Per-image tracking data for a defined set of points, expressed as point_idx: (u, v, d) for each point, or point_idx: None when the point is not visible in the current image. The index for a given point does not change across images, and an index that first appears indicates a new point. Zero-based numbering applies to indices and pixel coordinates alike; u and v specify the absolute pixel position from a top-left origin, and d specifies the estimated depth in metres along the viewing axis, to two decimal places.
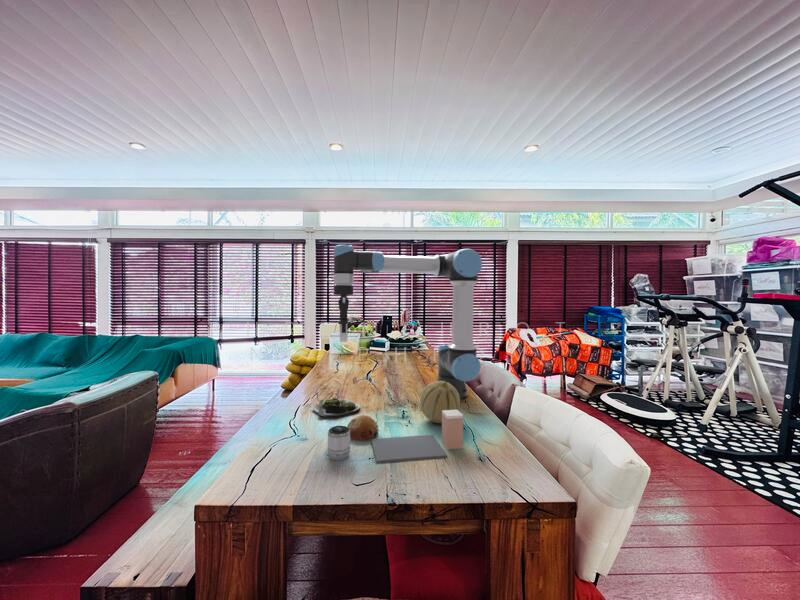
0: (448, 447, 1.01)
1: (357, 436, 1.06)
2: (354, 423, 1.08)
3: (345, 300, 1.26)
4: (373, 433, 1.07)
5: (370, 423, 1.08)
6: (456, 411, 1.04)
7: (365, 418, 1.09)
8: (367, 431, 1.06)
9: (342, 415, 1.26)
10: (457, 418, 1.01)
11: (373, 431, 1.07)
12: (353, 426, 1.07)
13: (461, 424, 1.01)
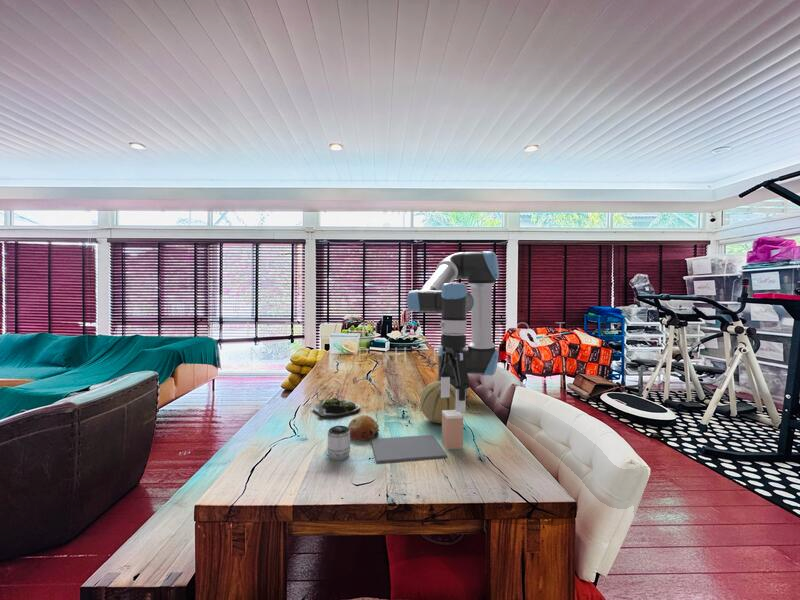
0: (448, 447, 1.01)
1: (358, 436, 1.06)
2: (354, 423, 1.08)
3: (463, 357, 0.96)
4: (374, 433, 1.07)
5: (371, 423, 1.08)
6: None
7: (366, 418, 1.09)
8: (367, 431, 1.06)
9: (342, 415, 1.26)
10: (457, 418, 1.01)
11: (374, 431, 1.07)
12: (354, 426, 1.07)
13: (461, 424, 1.01)
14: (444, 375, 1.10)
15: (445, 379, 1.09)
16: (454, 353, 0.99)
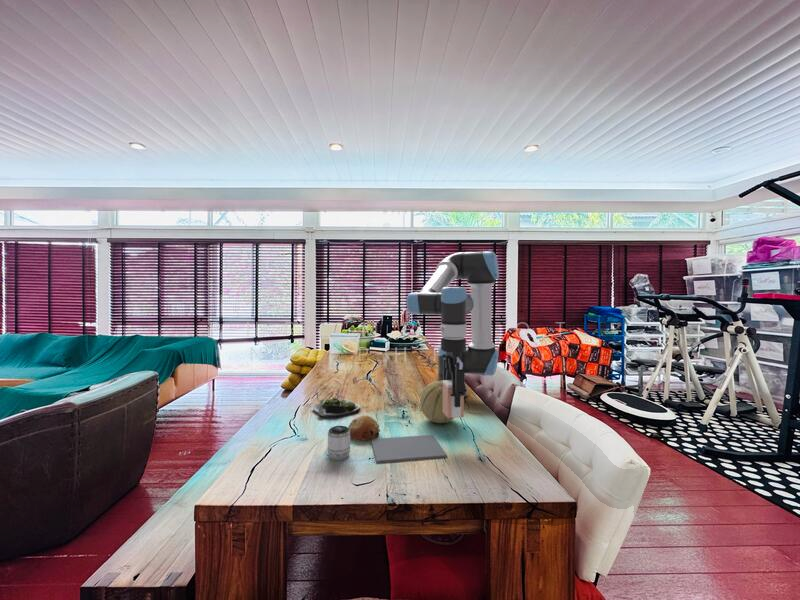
0: (449, 415, 1.01)
1: (359, 436, 1.05)
2: (355, 423, 1.08)
3: (462, 367, 0.97)
4: (374, 433, 1.07)
5: (371, 423, 1.08)
6: None
7: (366, 418, 1.09)
8: (368, 431, 1.06)
9: (342, 415, 1.26)
10: None
11: (374, 431, 1.07)
12: (355, 426, 1.07)
13: None
14: None
15: None
16: (454, 358, 0.99)
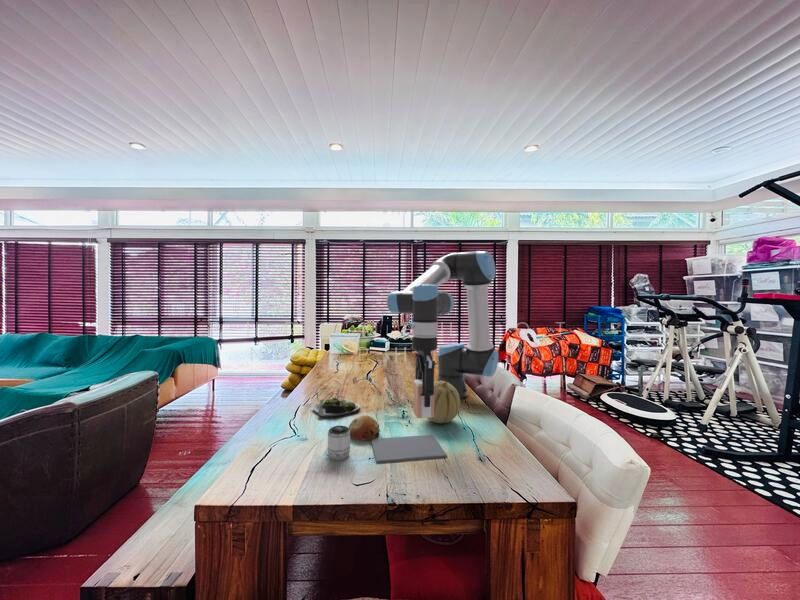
0: (419, 416, 0.99)
1: (359, 436, 1.06)
2: (355, 423, 1.08)
3: (432, 365, 0.95)
4: (375, 433, 1.07)
5: (372, 423, 1.08)
6: None
7: (367, 418, 1.09)
8: (368, 431, 1.06)
9: (342, 415, 1.26)
10: None
11: (375, 431, 1.07)
12: (355, 426, 1.07)
13: None
14: None
15: None
16: (424, 357, 0.97)
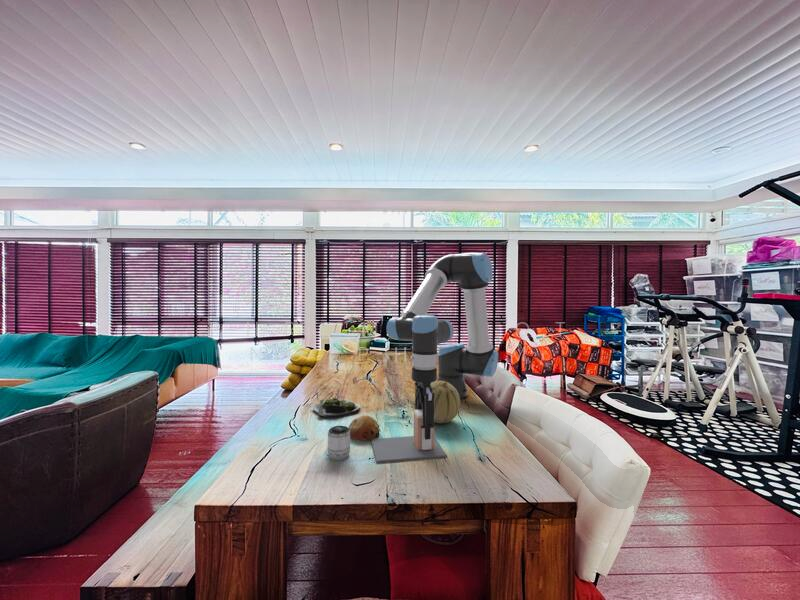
0: (419, 447, 0.99)
1: (359, 436, 1.06)
2: (355, 423, 1.08)
3: (432, 398, 0.95)
4: (375, 433, 1.07)
5: (372, 423, 1.08)
6: None
7: (367, 418, 1.09)
8: (368, 431, 1.06)
9: (341, 415, 1.26)
10: None
11: (375, 431, 1.07)
12: (355, 426, 1.07)
13: None
14: None
15: None
16: (424, 389, 0.97)
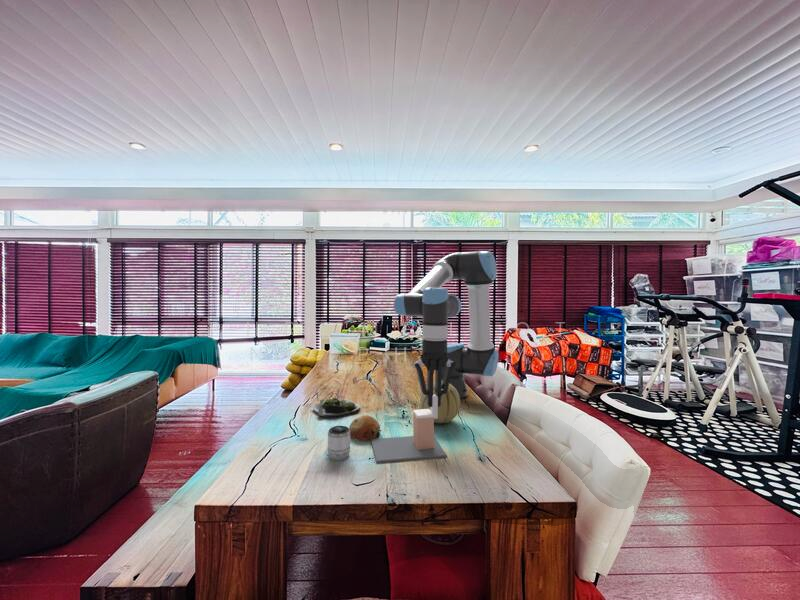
0: (419, 447, 0.99)
1: (360, 436, 1.06)
2: (356, 423, 1.08)
3: (415, 367, 1.00)
4: (375, 433, 1.07)
5: (372, 423, 1.08)
6: (427, 410, 1.03)
7: (367, 418, 1.09)
8: (369, 431, 1.06)
9: (341, 415, 1.26)
10: (427, 418, 0.99)
11: (375, 431, 1.07)
12: (356, 426, 1.07)
13: (432, 423, 1.00)
14: (436, 393, 1.02)
15: None
16: None
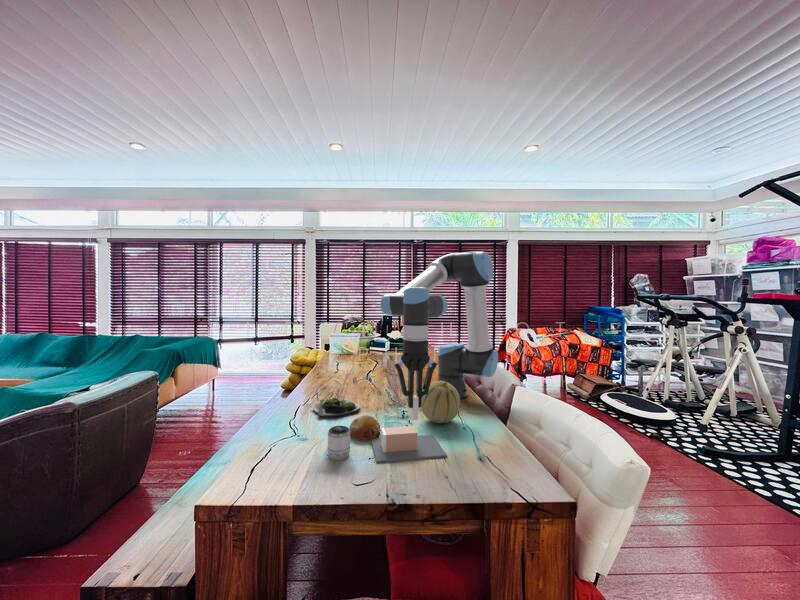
0: (415, 448, 0.99)
1: (360, 436, 1.06)
2: (356, 423, 1.08)
3: (396, 368, 0.99)
4: (375, 433, 1.07)
5: (372, 423, 1.08)
6: (381, 433, 1.00)
7: (367, 418, 1.09)
8: (369, 431, 1.06)
9: (341, 415, 1.26)
10: (386, 441, 0.97)
11: (375, 431, 1.07)
12: (356, 426, 1.07)
13: (393, 436, 0.97)
14: (417, 394, 1.01)
15: None
16: None
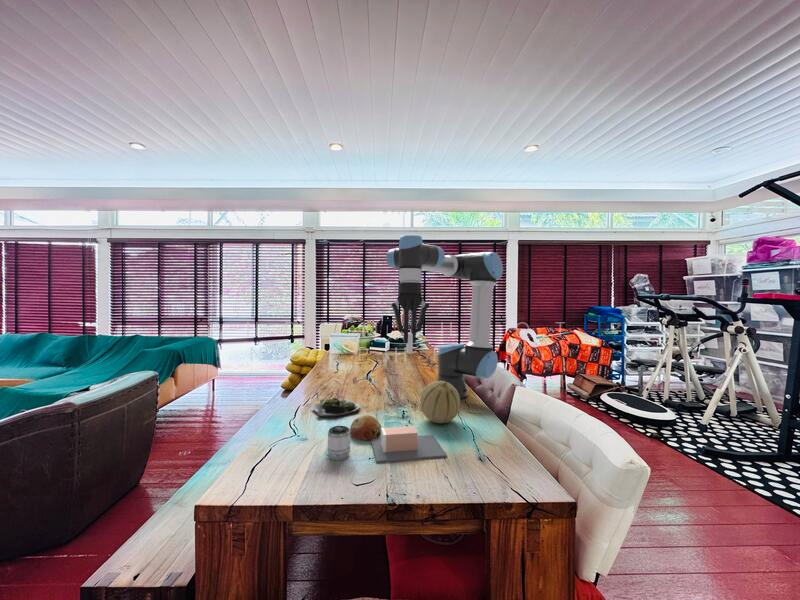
0: (415, 448, 0.99)
1: (360, 436, 1.06)
2: (357, 423, 1.08)
3: (392, 307, 1.11)
4: (376, 433, 1.07)
5: (373, 423, 1.08)
6: (381, 433, 1.00)
7: (368, 418, 1.09)
8: (370, 431, 1.06)
9: (341, 415, 1.26)
10: (386, 441, 0.97)
11: (376, 431, 1.07)
12: (356, 426, 1.07)
13: (393, 436, 0.97)
14: (411, 332, 1.13)
15: None
16: None
